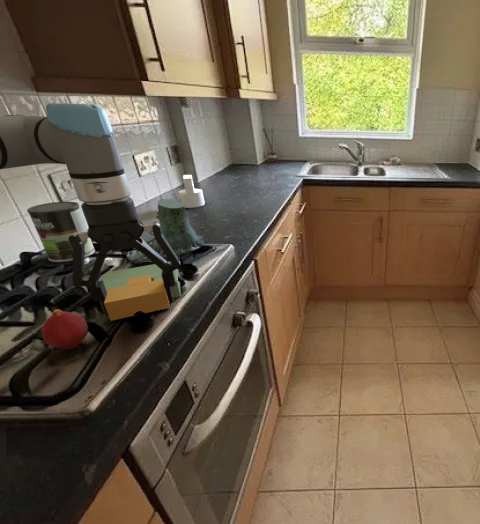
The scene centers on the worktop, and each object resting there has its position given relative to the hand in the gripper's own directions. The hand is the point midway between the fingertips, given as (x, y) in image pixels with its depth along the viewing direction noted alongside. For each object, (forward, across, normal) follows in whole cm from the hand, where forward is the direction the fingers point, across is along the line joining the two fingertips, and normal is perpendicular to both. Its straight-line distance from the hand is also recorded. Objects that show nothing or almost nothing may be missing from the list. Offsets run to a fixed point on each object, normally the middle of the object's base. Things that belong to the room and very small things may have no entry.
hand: (141, 306), depth 68 cm
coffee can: (+1, -19, +42) cm, 47 cm away
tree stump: (+2, +5, +32) cm, 33 cm away
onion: (+2, -10, -7) cm, 13 cm away
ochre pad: (0, 0, +2) cm, 2 cm away
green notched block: (+1, 0, +9) cm, 10 cm away
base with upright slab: (+1, +14, +85) cm, 87 cm away
